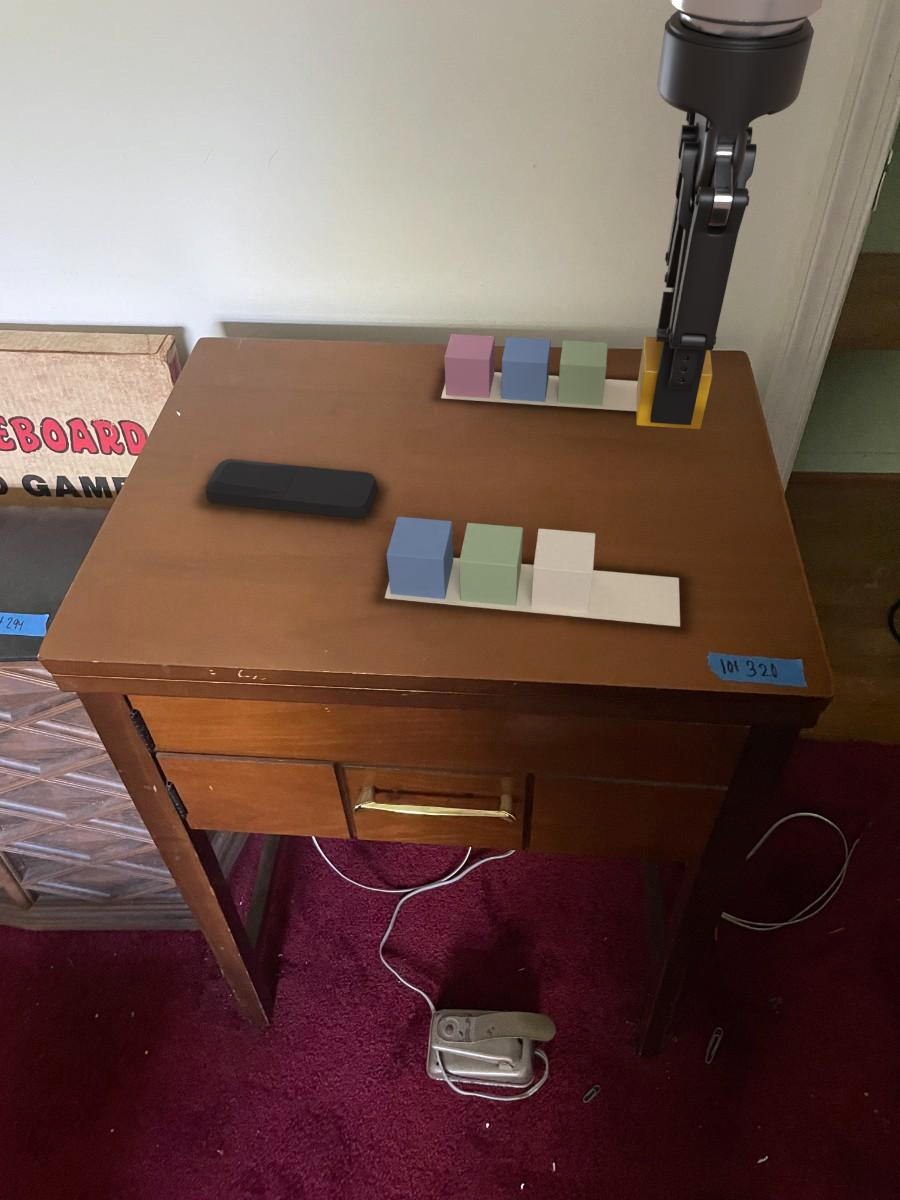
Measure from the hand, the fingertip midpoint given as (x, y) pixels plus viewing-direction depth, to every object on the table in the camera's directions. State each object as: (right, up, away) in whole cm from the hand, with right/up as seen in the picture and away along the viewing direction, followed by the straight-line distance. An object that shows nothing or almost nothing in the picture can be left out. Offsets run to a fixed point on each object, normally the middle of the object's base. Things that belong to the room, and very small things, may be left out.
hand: (669, 398), depth 63 cm
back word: (-5, +7, +28) cm, 29 cm away
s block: (0, -1, +1) cm, 1 cm away
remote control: (-30, -5, +18) cm, 35 cm away
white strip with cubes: (-9, -13, +9) cm, 18 cm away
